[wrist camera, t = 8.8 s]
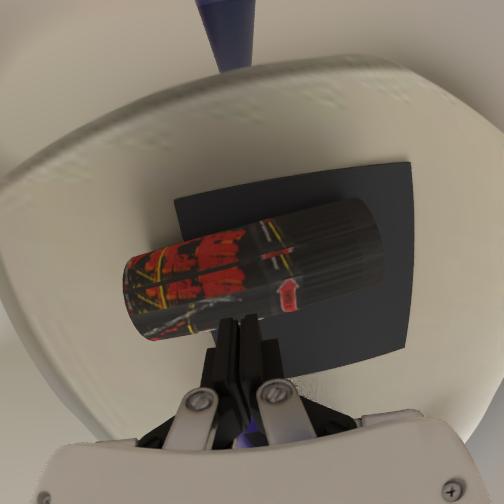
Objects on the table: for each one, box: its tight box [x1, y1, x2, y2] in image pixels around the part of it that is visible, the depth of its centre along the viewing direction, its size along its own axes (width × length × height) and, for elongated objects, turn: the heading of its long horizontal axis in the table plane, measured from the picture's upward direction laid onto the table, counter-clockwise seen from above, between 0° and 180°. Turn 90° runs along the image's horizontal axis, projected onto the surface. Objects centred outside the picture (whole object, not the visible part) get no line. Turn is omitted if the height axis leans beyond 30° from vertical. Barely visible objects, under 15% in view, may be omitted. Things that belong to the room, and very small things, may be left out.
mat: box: [174, 162, 414, 378], centre depth 21 cm, size 18×18×1 cm
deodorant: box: [123, 197, 385, 341], centre depth 17 cm, size 6×6×15 cm
